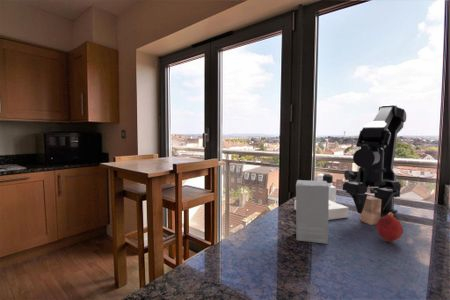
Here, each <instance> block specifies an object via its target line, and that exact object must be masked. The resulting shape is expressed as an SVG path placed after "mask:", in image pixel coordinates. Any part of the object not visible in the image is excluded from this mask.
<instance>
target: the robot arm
mask: <svg viewBox="0 0 450 300" xmlns="http://www.w3.org/2000/svg"><path fill="white" fill-rule="evenodd" d="M406 121H407V112H406V111H405V109H404V108H401V107H398V106H397V105H396V104H384V105H380V106H379V108H378V111H377V114H376V115H375V117H374V119H372V122H369V123H367V124H365V125H364V126H363V127H362V129H360V130H359V131H360V132H359V134H358V137H357V141H356V144H355V147H357V148H358V149H356V151H355V152H354V154H353V156H352V161H353V163H354V164H355V165H356V166H357V167H358V171H353V170H352V169H348V170H347V169H346V170H345V171H344V174H343V175H344V180H345V181H344V182H343V183H342V191H344V192H346V193H347V194H349V196H351V198H352V200H353V202H354V203H353V204H354V205H355V206H354V207H355V208H356V211H357V214H361V213H362V211H363V208H364V204H365V201H366V198H367V197H368V194H367V192H368V190H369V193H370V194H374V196H373V197H375V198H378V199H381V213H383V214H388V213H398V210H397V209H395V208H394V207H395V198H399V197H401V186H402V184H401V183H400V182H399V180H398V177H397V175H396V174H395V171H394V170H393V169H394V164H395V163H394V160H395V152H396V147H397V146H396V145H397V139H398V134H399V132H401V131H402V129H404V123H406Z"/></svg>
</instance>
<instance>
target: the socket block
mask: <svg viewBox="0 0 450 300" xmlns="http://www.w3.org/2000/svg"><path fill="white" fill-rule="evenodd" d="M293 201H294V208H293V210H295V211H296V199H295V200H293ZM349 210H350V209H349V207H348V206H345V205H343V204H340V203H337V202H336V203H335V202H332V201H330V200H329V211H328V221H330V220H337V219H345V218H349V212H350V211H349Z"/></svg>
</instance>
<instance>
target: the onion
mask: <svg viewBox="0 0 450 300" xmlns="http://www.w3.org/2000/svg"><path fill="white" fill-rule="evenodd" d="M394 215H395V214H394V212H392V213H386V215H384V216H382V217H380V219H379V221H378V222H377V224H375V225H376V226H375V228H376V231H377V232H376V233H378V235H379V236H380V238H382V239H383V240H385V241H386V242H387V243H392V242H394V241H398V240H399V239H400V238H401V237H402V236H403V232H404V228H403V225H402V223H401V222H400V220H398V218H396V217H394Z"/></svg>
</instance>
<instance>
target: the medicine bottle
mask: <svg viewBox="0 0 450 300" xmlns="http://www.w3.org/2000/svg"><path fill="white" fill-rule="evenodd" d="M316 179H317V180H316V181H327V184H328V186H329V200H330V201H332V202H335V203H337V202H336V201H337V200H336V197H337V187H336V186H334V185H333V179H334V177H333V175H332V174H330V173H318V174H317V177H316Z"/></svg>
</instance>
